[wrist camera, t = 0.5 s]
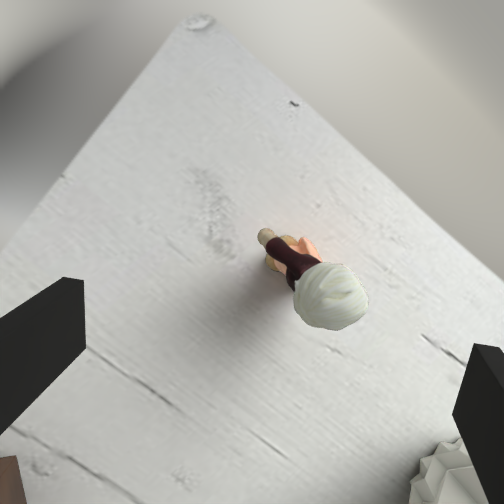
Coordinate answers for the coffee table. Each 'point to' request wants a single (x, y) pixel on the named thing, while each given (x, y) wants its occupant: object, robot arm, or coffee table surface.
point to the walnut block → (11, 482)
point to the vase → (447, 478)
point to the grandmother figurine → (316, 282)
